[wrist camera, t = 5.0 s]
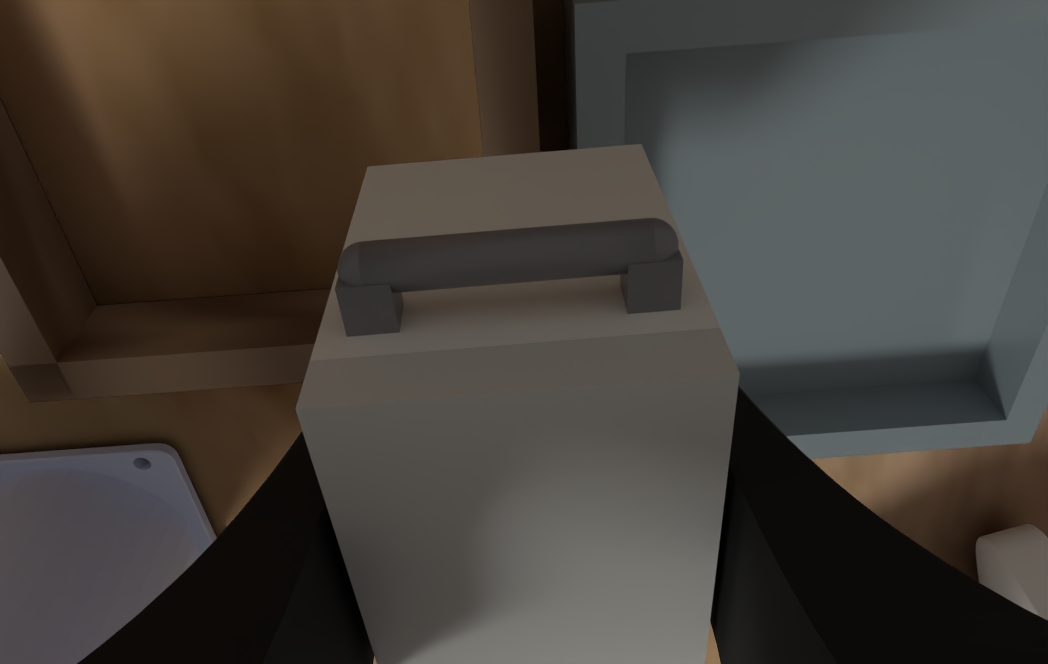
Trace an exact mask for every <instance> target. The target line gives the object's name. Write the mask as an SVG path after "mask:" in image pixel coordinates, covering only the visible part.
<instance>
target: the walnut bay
mask: <svg viewBox="0 0 1048 664" xmlns="http://www.w3.org/2000/svg"><path fill="white" fill-rule="evenodd" d="M469 9H470V20H471V30H472V41H473V51H474V61H475V72H476V82H477V92H478V103H479V113H480V124H481V134H482V144H483V155H484V157H489V156H501V155H513V154H525V153H537V152H540V140H539V120H538V100H537V80H536V60H535V40H534V20H533V0H469ZM330 291H331V289H318V290H304V291H290V292H277V293H263V294H249V295H236V296H222V297H208V298H195V299H181V300H167V301H154V302H140V303H126V304H113V305H99V306H97V304H96V302H95V300H94V297H93V295H92V293H91V291H90V289H89V287H88V285H87V283H86V280H85V278H84V276H83V274H82V272H81V270H80V268H79V266H78V263H77V261H76V259H75V257H74V255H73V253H72V251H71V249H70V246H69V244H68V242H67V240H66V238H65V236H64V234H63V232H62V229H61V227H60V225H59V223H58V221H57V219H56V217H55V215H54V212H53V210H52V208H51V206H50V204H49V202H48V200H47V198H46V195H45V193H44V191H43V189H42V187H41V185H40V183H39V181H38V178H37V176H36V174H35V172H34V170H33V168H32V166H31V164H30V161H29V159H28V157H27V155H26V153H25V151H24V149H23V146H22V144H21V142H20V140H19V138H18V136H17V134H16V132H15V129H14V127H13V125H12V123H11V121H10V119H9V117H8V115H7V112H6V110H5V108H4V106H3V104H2V102H1V100H0V353H1V354H2V356H3V358H4V359H5V361H6V363H7V365H8V366H9V368H10V370H11V371H12V373H13V375H14V376H15V378H16V380H17V382H18V383H19V385H20V387H21V388H22V390H23V392H24V394H25V395H26V397H27V399H28V400H29V402H30V403H31V402H45V401H59V400H72V399H86V398H100V397H113V396H127V395H141V394H155V393H168V392H182V391H196V390H209V389H223V388H237V387H250V386H264V385H278V384H292V383H303V382H304V378H305V375H306V372H307V368H308V365H309V362H310V358H311V355H312V352H313V348H314V345H315V341H316V338H317V335H318V331H319V328H320V325H321V321H322V318H323V315H324V311H325V308H326V305H327V301H328V298H329V294H330Z"/></svg>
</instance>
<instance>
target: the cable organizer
mask: <svg viewBox="0 0 1048 664" xmlns="http://www.w3.org/2000/svg"><path fill="white" fill-rule="evenodd" d="M976 562H977V570H978V579H979V583H981V584H982V585H984V586H986V587H988V588H989V589H991V590H993V591H994V592H996V593H998V594H1000V595H1001V596H1003V597H1005V598H1007V599H1008V600H1010V601H1012V602H1014V603H1015V604H1017V605H1019V606H1021V607H1023V608H1024V609H1026V610H1028V611H1030V612H1032V613H1034V614H1036V615H1038V616H1040V617H1042V618H1044V619H1046V620H1048V538H1047V536H1046V535H1045V534H1044V533H1043V532H1042V531H1041V530H1039V529H1038V528H1037V527H1035V526H1033V525H1031V524H1024V525H1020V526H1017V527H1013V528H1010V529H1006V530H1002V531H999V532H995V533H992V534H988V535H984V536H981V537H979V538H978V540H977V542H976Z"/></svg>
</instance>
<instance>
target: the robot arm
mask: <svg viewBox="0 0 1048 664" xmlns="http://www.w3.org/2000/svg"><path fill="white" fill-rule="evenodd" d="M141 458H144V459H146V460H144V459H141ZM710 621H711V625H712V629H713V632H714V636H715V640H716V643H717V647H718V652H719V657H720V661H721V664H1048V620H1046V619H1044V618H1042V617H1040V616H1038V615H1036V614H1034V613H1032V612H1030V611H1028V610H1026V609H1024V608H1023V607H1021V606H1019V605H1017V604H1015V603H1014V602H1012V601H1010V600H1008V599H1007V598H1005V597H1003V596H1001V595H1000V594H998V593H996V592H994V591H993V590H991V589H989V588H988V587H986V586H984V585H982V584H981V583H979V582H977V581H975V580H974V579H972V578H970V577H969V576H967V575H965V574H964V573H962V572H961V571H959V570H957V569H956V568H954V567H952V566H951V565H949V564H948V563H946V562H944V561H943V560H941V559H940V558H938V557H937V556H935V555H934V554H932V553H931V552H929V551H928V550H926V549H925V548H923V547H922V546H920V545H919V544H917V543H916V542H914V541H913V540H911V539H910V538H908V537H907V536H905V535H904V534H902V533H901V532H899V531H898V530H897V529H895V528H894V527H892V526H891V525H890V524H888V523H887V522H885V521H884V520H883V519H881V518H880V517H879V516H877V515H876V514H875V513H873V512H872V511H871V510H870V509H868V508H867V507H866V506H864V505H863V504H862V503H861V502H859V501H858V500H857V499H856V498H854V497H853V496H852V495H851V494H849V493H848V492H847V491H846V490H845V489H843V488H842V487H841V486H840V485H839V484H837V483H836V482H835V481H834V480H833V479H832V478H831V477H829V476H828V475H827V474H826V473H825V472H824V471H823V470H821V469H820V468H819V467H818V466H817V465H816V464H815V463H814V462H813V461H812V460H811V459H809V458H808V457H807V456H806V455H805V454H804V453H803V452H802V451H801V450H800V449H799V448H798V447H797V446H796V445H795V444H794V443H793V442H792V441H790V440H789V439H788V438H787V437H786V436H785V435H784V433H783V432H782V431H781V430H780V429H779V428H778V427H777V426H776V425H775V424H774V423H773V422H772V421H771V420H770V419H769V418H768V417H767V416H766V415H765V414H764V413H763V412H762V411H761V410H760V409H759V408H758V407H757V405H756V404H755V403H754V402H753V401H752V400H751V399H750V398H749V397H748V396H747V394H746V393H745V392H744V391H743V390H742V389H741V388H740V387H739V385H738V393H737V401H736V409H735V418H734V426H733V434H732V443H731V451H730V459H729V468H728V476H727V484H726V493H725V501H724V509H723V518H722V526H721V534H720V543H719V551H718V559H717V568H716V576H715V584H714V593H713V601H712V609H711V618H710ZM373 661H374V652H373V649H372V646H371V643H370V640H369V637H368V634H367V631H366V628H365V624H364V621H363V618H362V615H361V612H360V609H359V606H358V603H357V600H356V596H355V593H354V590H353V587H352V584H351V581H350V578H349V575H348V572H347V568H346V565H345V562H344V559H343V556H342V553H341V550H340V547H339V544H338V541H337V537H336V534H335V531H334V528H333V525H332V522H331V519H330V516H329V513H328V509H327V506H326V503H325V500H324V497H323V494H322V491H321V488H320V485H319V481H318V478H317V475H316V472H315V469H314V466H313V463H312V460H311V457H310V453H309V450H308V447H307V444H306V441H305V438H304V435H303V432H301V433H300V435H299V436H298V438H297V439H296V440H295V442H294V443H293V445H292V446H291V447H290V449H289V450H288V451H287V453H286V454H285V456H284V457H283V458H282V460H281V461H280V462H279V464H278V465H277V467H276V468H275V469H274V470H273V472H272V473H271V474H270V476H269V477H268V478H267V479H266V481H265V482H264V483H263V484H262V486H261V487H260V488H259V489H258V491H257V492H256V493H255V494H254V495H253V497H252V498H251V499H250V500H249V502H248V503H247V504H246V505H245V507H244V508H243V509H242V510H241V511H240V513H239V514H238V515H237V516H236V517H235V518H234V520H233V521H232V522H231V523H230V524H229V525H228V526H227V527H226V529H225V530H224V531H223V532H222V533H221V534H220V535H219V536H218V537H216V535H215V533H214V531H213V529H212V527H211V524H210V522H209V520H208V518H207V516H206V513H205V511H204V509H203V507H202V505H201V503H200V500H199V498H198V496H197V494H196V492H195V489H194V487H193V485H192V483H191V481H190V479H189V476H188V474H187V472H186V470H185V468H184V465H183V463H182V461H181V459H180V457H179V455H178V453H177V451H176V450H175V449H174V448H172V447H171V446H169V445H166V444H163V443H152V444H138V445H124V446H111V447H97V448H83V449H70V450H56V451H42V452H28V453H15V454H1V455H0V664H373Z"/></svg>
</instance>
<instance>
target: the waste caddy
mask: <svg viewBox="0 0 1048 664" xmlns="http://www.w3.org/2000/svg"><path fill="white" fill-rule="evenodd" d="M739 376H740V373H739V371H738V368H737V366H736V364H735V361H734V359H733V357H732V354H731V352H730V350H729V347H728V345H727V343H726V340H725V338H724V336H723V333H722V331H721V329H720V326H719V324H718V322H717V319H716V317H715V315H714V312H713V310H712V308H711V305H710V303H709V301H708V298H707V296H706V293H705V291H704V289H703V286H702V284H701V282H700V279H699V277H698V275H697V272H696V270H695V268H694V265H693V263H692V261H691V258H690V256H689V254H688V251H687V249H686V247H685V244H684V242H683V240H682V237H681V235H680V233H679V230H678V228H677V226H676V223H675V221H674V219H673V216H672V214H671V212H670V209H669V207H668V205H667V202H666V200H665V198H664V195H663V193H662V191H661V188H660V186H659V184H658V181H657V179H656V177H655V174H654V172H653V170H652V167H651V165H650V163H649V160H648V158H647V156H646V153H645V151H644V149H643V146H642V144H634V145H622V146H610V147H598V148H586V149H573V150H561V151H549V152H537V153H525V154H513V155H501V156H489V157H476V158H464V159H452V160H440V161H428V162H416V163H404V164H392V165H380V166H368V167H367V170H366V173H365V177H364V180H363V183H362V187H361V190H360V194H359V197H358V200H357V204H356V207H355V210H354V214H353V217H352V220H351V224H350V227H349V231H348V234H347V237H346V241H345V244H344V247H343V251H342V253H341V255H340V257H339V259H338V263H337V271H336V274H335V278H334V281H333V284H332V288H331V291H330V294H329V298H328V301H327V305H326V308H325V311H324V315H323V318H322V321H321V325H320V328H319V331H318V335H317V338H316V341H315V345H314V348H313V352H312V355H311V358H310V362H309V365H308V368H307V372H306V375H305V378H304V382H303V385H302V389H301V392H300V395H299V399H298V402H297V405H296V409H295V410H296V413H297V416H298V419H299V422H300V425H301V429H302V432H303V435H304V438H305V441H306V444H307V447H308V450H309V453H310V457H311V460H312V463H313V466H314V469H315V472H316V475H317V478H318V481H319V485H320V488H321V491H322V494H323V497H324V500H325V503H326V506H327V509H328V513H329V516H330V519H331V522H332V525H333V528H334V531H335V534H336V537H337V541H338V544H339V547H340V550H341V553H342V556H343V559H344V562H345V565H346V568H347V572H348V575H349V578H350V581H351V584H352V587H353V590H354V593H355V596H356V600H357V603H358V606H359V609H360V612H361V615H362V618H363V621H364V624H365V628H366V631H367V634H368V637H369V640H370V643H371V646H372V649H373V652H374V656H375V659H376V662H377V664H705V659H706V651H707V643H708V634H709V626H710V618H711V609H712V601H713V593H714V584H715V576H716V568H717V559H718V551H719V543H720V534H721V526H722V518H723V509H724V501H725V493H726V484H727V476H728V468H729V459H730V451H731V443H732V434H733V426H734V418H735V409H736V401H737V393H738V384H739Z"/></svg>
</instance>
